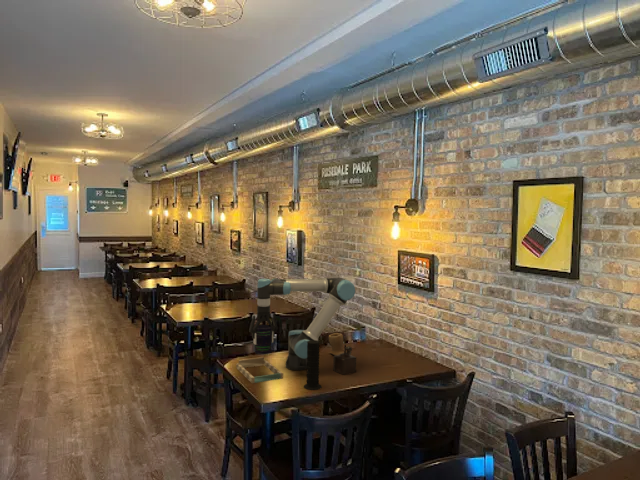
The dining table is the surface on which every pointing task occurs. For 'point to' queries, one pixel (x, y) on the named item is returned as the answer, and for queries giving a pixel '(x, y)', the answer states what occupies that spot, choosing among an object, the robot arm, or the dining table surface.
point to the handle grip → (312, 365)
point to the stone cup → (336, 343)
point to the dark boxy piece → (345, 362)
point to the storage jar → (263, 339)
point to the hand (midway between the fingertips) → (263, 342)
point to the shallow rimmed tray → (258, 362)
